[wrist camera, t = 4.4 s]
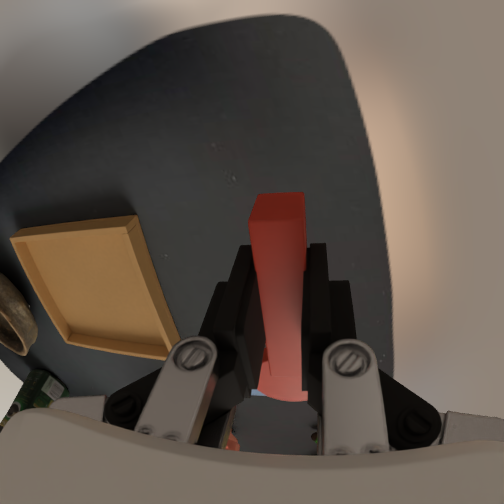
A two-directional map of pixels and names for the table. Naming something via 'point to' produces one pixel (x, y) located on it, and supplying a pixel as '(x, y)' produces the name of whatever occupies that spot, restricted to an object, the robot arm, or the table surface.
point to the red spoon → (280, 289)
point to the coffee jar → (36, 393)
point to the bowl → (15, 319)
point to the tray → (99, 285)
